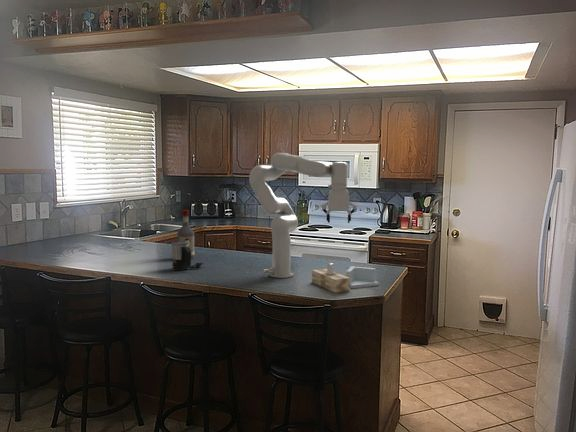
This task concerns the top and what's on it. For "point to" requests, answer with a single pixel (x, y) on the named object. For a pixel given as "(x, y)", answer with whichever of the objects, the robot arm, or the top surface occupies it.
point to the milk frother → (181, 256)
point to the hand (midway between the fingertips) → (338, 222)
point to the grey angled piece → (361, 277)
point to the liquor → (186, 233)
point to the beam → (331, 280)
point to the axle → (330, 269)
